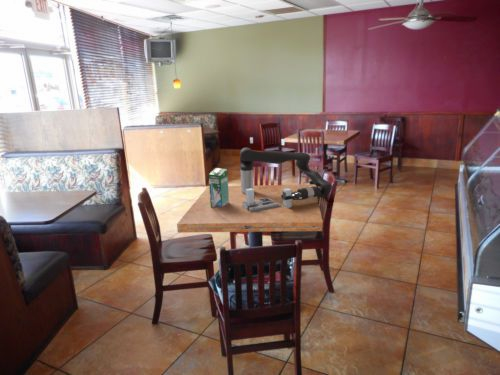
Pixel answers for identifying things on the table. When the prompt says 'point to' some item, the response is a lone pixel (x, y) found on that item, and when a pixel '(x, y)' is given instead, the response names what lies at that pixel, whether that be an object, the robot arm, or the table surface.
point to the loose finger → (285, 193)
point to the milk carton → (218, 187)
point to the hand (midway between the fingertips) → (283, 197)
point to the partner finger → (250, 196)
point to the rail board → (261, 205)
